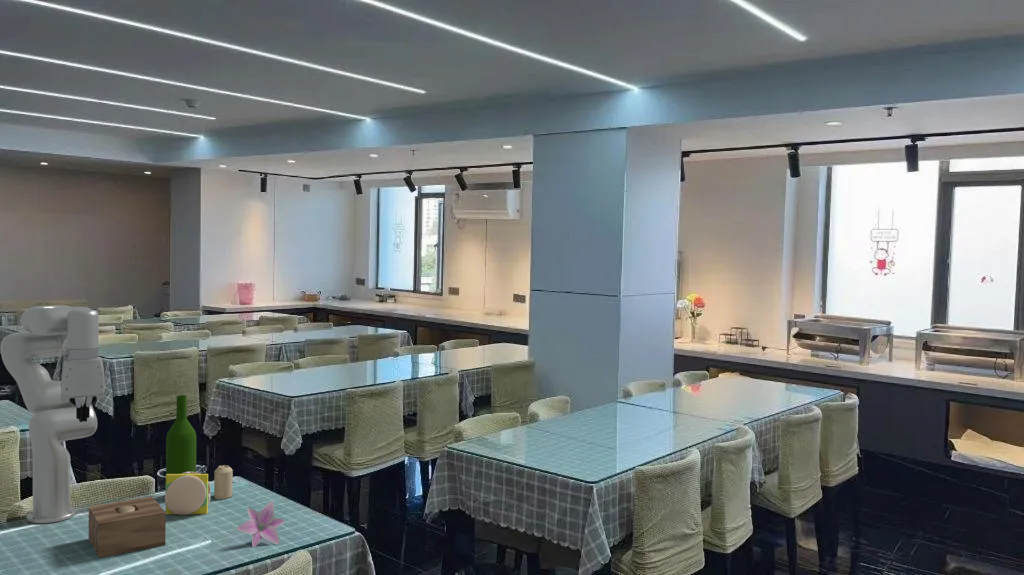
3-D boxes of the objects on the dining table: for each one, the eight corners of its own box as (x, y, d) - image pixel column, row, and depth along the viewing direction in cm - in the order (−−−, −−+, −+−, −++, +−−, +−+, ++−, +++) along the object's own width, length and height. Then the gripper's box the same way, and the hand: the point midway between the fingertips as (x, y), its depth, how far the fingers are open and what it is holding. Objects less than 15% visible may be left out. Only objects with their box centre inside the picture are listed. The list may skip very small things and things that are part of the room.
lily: (229, 549, 206) (236, 524, 202) (243, 519, 217) (250, 494, 213) (272, 562, 208) (280, 537, 204) (284, 531, 219) (292, 507, 215)
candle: (226, 499, 244) (226, 469, 243) (210, 498, 245) (211, 467, 244) (235, 494, 249) (236, 464, 249) (220, 493, 250) (220, 463, 250)
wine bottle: (202, 494, 249) (202, 395, 248) (179, 501, 241) (180, 399, 239) (182, 489, 253) (182, 392, 251) (159, 497, 245) (160, 396, 243)
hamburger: (212, 507, 237) (213, 469, 236) (204, 516, 228) (205, 476, 228) (172, 507, 236) (172, 469, 235) (163, 516, 227) (163, 477, 227)
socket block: (88, 538, 209) (88, 506, 208) (151, 527, 218) (152, 496, 218) (98, 558, 196) (98, 523, 196) (165, 545, 206) (165, 512, 205)
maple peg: (117, 533, 208) (117, 507, 207) (133, 530, 210) (133, 505, 210) (119, 537, 204) (119, 512, 204) (135, 534, 207) (136, 509, 206)
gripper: (52, 357, 201) (52, 426, 202) (115, 354, 210) (115, 420, 211) (49, 354, 207) (49, 421, 208) (110, 351, 216) (110, 415, 217)
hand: (82, 420), depth 209 cm, fingers closed
